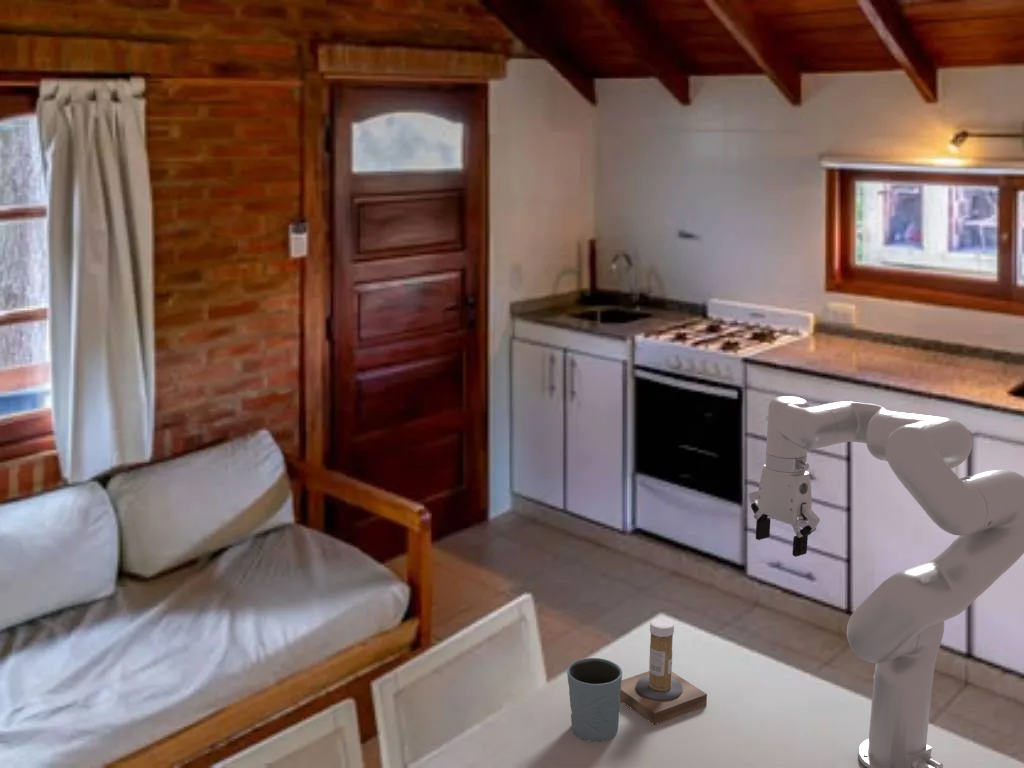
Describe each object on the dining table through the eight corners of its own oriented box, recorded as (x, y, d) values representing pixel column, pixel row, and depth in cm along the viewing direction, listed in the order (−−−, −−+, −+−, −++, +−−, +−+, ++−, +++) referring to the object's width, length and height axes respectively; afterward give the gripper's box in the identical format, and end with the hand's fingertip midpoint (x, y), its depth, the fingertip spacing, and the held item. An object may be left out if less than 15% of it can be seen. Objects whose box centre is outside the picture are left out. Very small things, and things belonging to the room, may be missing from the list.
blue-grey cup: (617, 746, 197) (619, 687, 194) (562, 740, 199) (563, 681, 196) (623, 717, 206) (624, 660, 203) (570, 711, 208) (571, 654, 205)
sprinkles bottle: (676, 687, 211) (679, 624, 208) (658, 694, 209) (660, 630, 205) (660, 678, 215) (663, 615, 212) (643, 684, 212) (645, 621, 209)
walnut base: (706, 705, 210) (707, 691, 210) (654, 725, 204) (654, 710, 203) (663, 677, 221) (663, 663, 220) (612, 694, 214) (612, 681, 214)
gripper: (835, 470, 200) (828, 557, 204) (767, 447, 214) (762, 528, 219) (806, 477, 196) (800, 565, 200) (739, 453, 211) (734, 536, 215)
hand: (780, 546), depth 209 cm, fingers open, 9 cm apart
